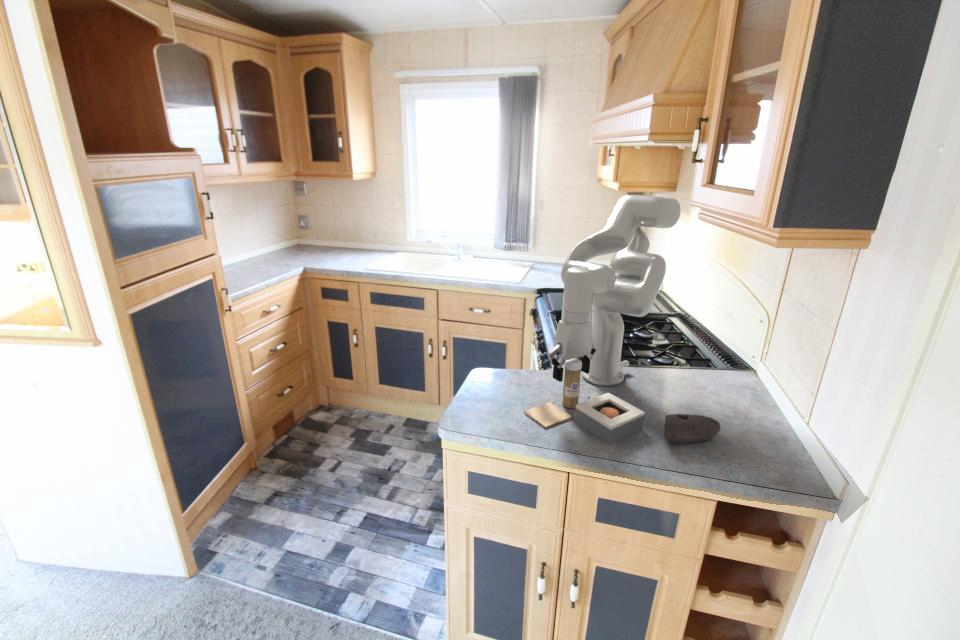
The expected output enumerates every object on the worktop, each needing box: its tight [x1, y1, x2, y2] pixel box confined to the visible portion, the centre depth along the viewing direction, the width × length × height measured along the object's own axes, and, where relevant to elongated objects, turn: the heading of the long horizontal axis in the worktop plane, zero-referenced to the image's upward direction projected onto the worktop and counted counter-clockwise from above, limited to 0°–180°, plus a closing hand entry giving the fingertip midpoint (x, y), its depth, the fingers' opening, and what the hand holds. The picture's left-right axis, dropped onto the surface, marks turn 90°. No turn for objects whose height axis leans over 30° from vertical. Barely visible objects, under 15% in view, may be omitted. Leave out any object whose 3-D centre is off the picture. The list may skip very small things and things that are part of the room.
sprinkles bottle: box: [561, 358, 582, 409], centre depth 126 cm, size 5×5×13 cm
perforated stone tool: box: [664, 413, 721, 444], centre depth 111 cm, size 15×5×7 cm, turn 95°
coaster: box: [523, 401, 573, 429], centre depth 123 cm, size 9×9×1 cm
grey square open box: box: [574, 392, 646, 446], centre depth 117 cm, size 12×12×5 cm
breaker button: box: [600, 407, 619, 419], centre depth 117 cm, size 5×5×2 cm
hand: (571, 375), depth 124 cm, fingers open, 9 cm apart
